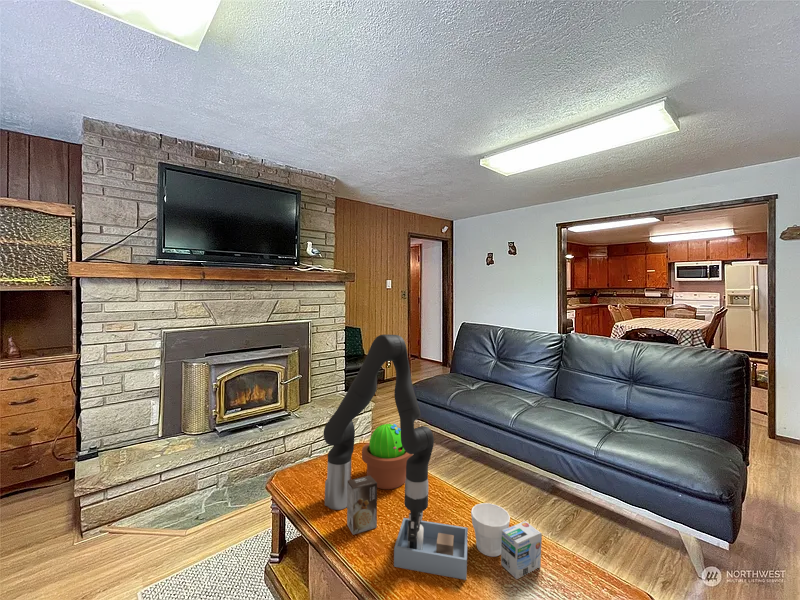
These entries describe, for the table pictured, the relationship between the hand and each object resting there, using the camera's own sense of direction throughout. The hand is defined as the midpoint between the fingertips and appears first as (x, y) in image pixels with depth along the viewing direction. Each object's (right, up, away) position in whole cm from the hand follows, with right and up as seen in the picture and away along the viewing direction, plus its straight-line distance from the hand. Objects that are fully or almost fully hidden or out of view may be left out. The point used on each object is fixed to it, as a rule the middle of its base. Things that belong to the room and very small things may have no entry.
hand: (415, 541), depth 112 cm
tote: (+5, -4, -1) cm, 7 cm away
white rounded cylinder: (0, -3, 0) cm, 3 cm away
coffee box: (-19, -3, +12) cm, 22 cm away
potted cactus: (-11, -3, +44) cm, 46 cm away
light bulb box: (+32, -5, -5) cm, 33 cm away
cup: (+25, -4, +3) cm, 25 cm away
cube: (+9, -3, -2) cm, 10 cm away
